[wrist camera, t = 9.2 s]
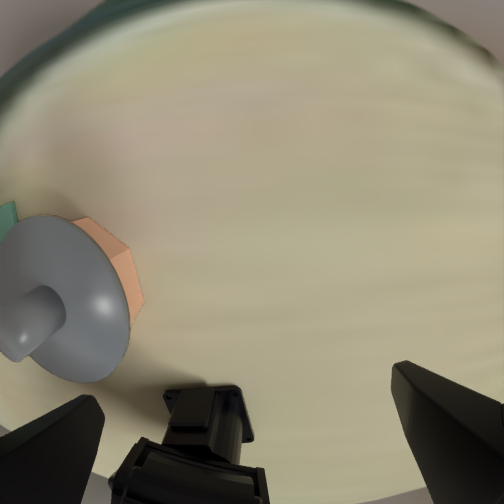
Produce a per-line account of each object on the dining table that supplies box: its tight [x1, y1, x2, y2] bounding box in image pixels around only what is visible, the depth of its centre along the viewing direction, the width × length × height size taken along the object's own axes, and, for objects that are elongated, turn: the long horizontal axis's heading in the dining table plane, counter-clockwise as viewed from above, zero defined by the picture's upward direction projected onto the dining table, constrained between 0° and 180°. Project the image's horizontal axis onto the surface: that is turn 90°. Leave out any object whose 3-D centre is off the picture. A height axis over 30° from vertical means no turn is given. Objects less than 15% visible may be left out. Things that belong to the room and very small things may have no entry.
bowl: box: [71, 217, 144, 326], centre depth 19 cm, size 10×10×4 cm
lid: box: [0, 215, 131, 383], centre depth 14 cm, size 12×12×5 cm
